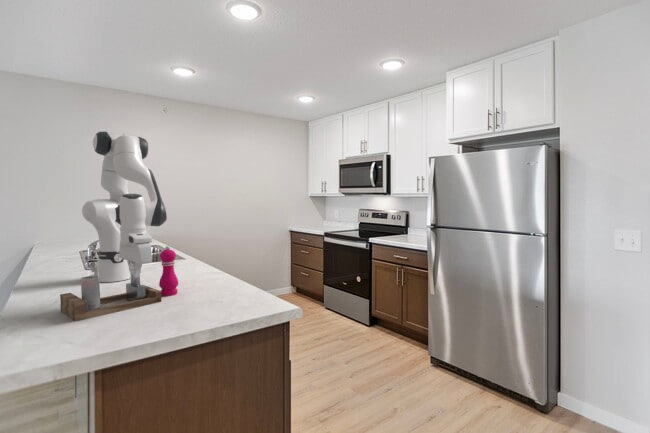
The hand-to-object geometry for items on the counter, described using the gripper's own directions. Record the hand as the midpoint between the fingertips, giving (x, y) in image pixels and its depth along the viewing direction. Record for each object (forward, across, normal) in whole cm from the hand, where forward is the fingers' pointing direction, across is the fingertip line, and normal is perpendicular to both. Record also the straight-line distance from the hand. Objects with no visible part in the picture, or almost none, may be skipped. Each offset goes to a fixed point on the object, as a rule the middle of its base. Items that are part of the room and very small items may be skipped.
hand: (135, 272), depth 137 cm
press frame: (+11, 0, -8) cm, 14 cm away
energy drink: (+11, 0, -15) cm, 19 cm away
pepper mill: (+11, 0, +13) cm, 17 cm away
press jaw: (+11, 0, 0) cm, 11 cm away
